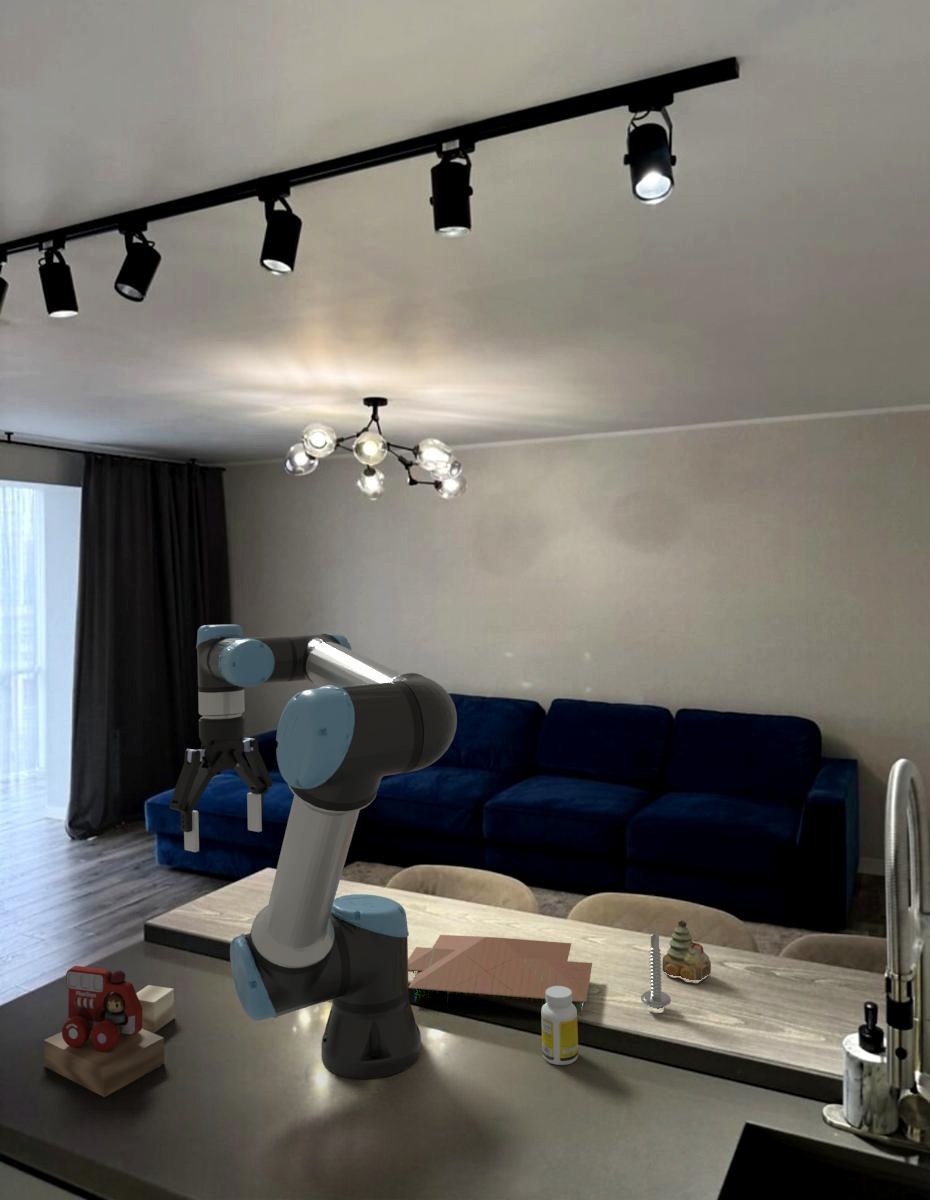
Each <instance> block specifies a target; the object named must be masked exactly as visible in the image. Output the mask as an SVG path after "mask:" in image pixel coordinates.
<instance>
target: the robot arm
mask: <svg viewBox="0 0 930 1200" xmlns="http://www.w3.org/2000/svg"><path fill="white" fill-rule="evenodd" d="M243 631H244V630H243V628H242V626H241V625H239V624H207V625H206V624H204V625H201V626H200V627H199V628H198V629H197V635H196V636H197V637H196V639H197V640H196V646H195V648H196V655H197V657H196V658H197V686H198V689H197V690H198V696H197V697H198V714H199V715H200V716H202V717H200V718H199V720H198V734H199V735H198V737H199V739H200V741H201V747H200V749H191V748H187V749H186V750H185V751H184V763H183V766H182V768H181V772H180V774H179V777H178V779H177V782H176V785H175V786H174V787H175V788H174V790H173V794H172V796H171V799H170V802H169V804H168V807H169V809H170V810H173V811H174V810H175V811H179V812H180V813H179V814H180V830H181V831H182V833H183V836H184V837H183V841H184V842H183V843H184V844H183V845H184V846H183V847H184V850H185V851H188V852H192V853H197V852H200V836H199V833H200V832H199V831H200V830H199V829H200V828H199V827H200V826H199V811H198V810H195V808H196V807H197V805H198V803H199V801H200V800H201V798H202V796H203V794H204V792H205V791H206V789H207V787H208V786H209V784H210V782H211V780H212V779H213V777H216V775H217V773H221V772H223V773H224V772H225V771H227V770H234V771H235V773H237V775H238V777H240V779H241V780H242V781H243V783H244V784H245V785H246V786H247V787H248V789H249V790H250V791H251V792H247V793H246V799H247V804H246V805H247V831H250V832H251V831H252V832H255V833H256V832H257V833H260V832H262V831H263V830H262V829H263V826H262V825H263V824H262V822H263V821H262V811H263V810H264V806H265V805H264V794H265V795H266V794H268V792H269V788H272V787H273V780H272V778H271V776H270V774H269V770H268V768H267V767H266V764H265V762H264V760H263V757H262V755H261V752H260V750H259V741H258V739H257V738H254V737H253V738H252V737H251V738H250V737H245V735H246V719H245V718H246V717H245V716H244V715H243V713H244V712H245V711H246V710H245V709H246V708H245V688H246V687H247V688H250V687H251V688H252V687H257V686H260V685H262V684H272V683H273V684H275V683H286V682H298V681H299V682H301V681H309V682H311V683H313V684H315V685H317V686H318V688H317V687H316V688H311V689H306V690H303V691H300V692H298V693H296V694H295V695H294V696H292V697H291V699H289V700H288V702H287V703H286V705H285V706H284V709H283V710H282V713H281V716H280V719H279V721H278V725H277V729H276V730H277V731H276V736H275V737H276V738H275V741H276V742H277V747H276V748H275V749H276V753H275V754H276V761H277V766H278V769H279V773H280V774H281V777H282V778H283V780H284V782H285V783H287V785H288V788H289V789H290V791H291V793H292V794H293V799H292V804H291V807H290V811H289V815H288V819H287V823H286V824H287V825H286V828H285V833H284V838H283V841H282V845H281V850H280V854H279V858H278V862H277V866H276V870H275V875H274V879H273V883H272V887H271V888H272V889H271V892H270V895H269V900H268V904H267V905H266V906H264V907H263V908H262V909H261V910H259V912H258V913H257V914H256V915H255V917H254V919H253V922H252V924H251V929H250V931H249V933H240V935H238V936H235V937H234V938H232V940H231V943H230V947H229V958H230V960H229V961H230V966H231V967H230V969H231V973H232V974H231V975H232V979H233V983H234V988H235V990H236V994H237V997H238V1000H239V1003H240V1005H241V1008H242V1010H243V1012H244V1013H245V1014H246V1016H247V1017H248V1018H250V1019H251V1020H252V1021H256V1022H259V1021H263V1020H267V1019H271V1018H274V1019H277V1018H278V1017H280V1016H283V1015H287V1014H289V1013H293V1012H296V1011H300V1010H302V1009H306V1008H309V1007H311V1006H315V1005H318V1004H321V1003H325V1002H328V1001H331V1009H330V1011H329V1014H328V1018H327V1021H326V1024H325V1028H324V1033H323V1035H322V1037H321V1038H322V1039H321V1044H320V1045H321V1060H322V1063H323V1065H324V1066H325V1068H327V1069H328V1070H329V1071H330V1072H332V1073H334V1074H336V1075H339V1076H341V1077H345V1078H350V1079H358V1080H367V1079H368V1080H369V1079H379V1078H384V1077H385V1078H386V1077H388V1076H392V1075H394V1074H395V1075H396V1074H398V1073H400V1072H403V1071H404V1070H406V1069H407V1068H409V1067H411V1066H412V1065H413V1064H414V1063H416V1061H417V1060H418V1059H419V1057H420V1055H421V1052H422V1036H421V1035H422V1034H421V1031H420V1027H419V1025H418V1024H417V1023H416V1022H417V1021H416V1019H415V1016H414V1011H413V1008H412V1005H411V1002H410V997H409V988H408V987H409V971H408V959H409V953H408V952H409V949H408V947H409V946H408V943H409V942H408V939H409V934H410V933H409V930H408V927H409V926H408V920H407V913H406V910H405V908H404V907H403V905H401V904H400V903H399V902H398V901H396V900H394V899H392V898H389V897H385V896H381V895H375V894H367V893H365V894H364V893H363V894H359V893H358V894H357V893H356V894H355V893H354V894H346V895H341V896H338V897H336V895H337V891H338V887H339V884H340V880H341V876H342V873H343V870H344V866H345V864H346V860H347V856H348V853H349V850H350V849H349V848H350V845H351V842H352V839H353V835H354V831H355V828H356V825H357V821H358V818H359V813H360V812H361V811H360V810H362V809H365V808H366V807H368V806H369V805H371V803H372V802H373V801H374V800H375V799H376V796H377V793H378V790H379V787H380V784H381V780H382V778H383V777H385V776H392V775H398V774H406V773H411V772H415V771H419V770H422V769H425V768H427V767H429V766H431V765H432V764H434V763H435V762H437V761H438V760H439V759H440V758H442V756H443V755H444V754H445V753H446V752H447V751H448V749H449V748H450V746H451V744H452V742H453V741H454V738H455V734H456V731H457V724H458V719H457V718H458V717H457V709H456V705H455V703H454V701H453V699H452V697H451V695H450V694H449V693H448V691H447V690H446V689H445V688H444V687H443V686H442V685H440V684H439V683H438V682H436V681H435V680H432V679H431V678H429V677H426V676H424V675H422V674H419V673H416V672H405V673H401V672H399V671H396V670H394V669H392V668H389V667H388V666H385V665H384V664H381V663H379V662H377V661H374V660H373V659H370V658H369V657H367V656H365V655H363V654H360V653H358V652H356V651H354V650H352V646H351V644H350V642H348V638H347V637H345V635H343V634H338V633H337V634H335V633H334V634H331V633H325V632H324V633H320V634H307V635H306V634H305V635H289V636H287V635H285V636H265V637H263V636H261V637H256V636H255V637H244V632H243ZM243 752H244V755H245V757H246V759H245V758H244V756H243V755H242V754H243ZM246 760H247V761H246ZM248 764H249V766H248Z"/></svg>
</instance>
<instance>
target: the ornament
mask: <svg viewBox="0 0 930 1200" xmlns="http://www.w3.org/2000/svg"><path fill="white" fill-rule="evenodd" d="M673 931H674V932H673V933H672V934H671V938H672V939H670V940H669V946H670V947H669V948H668V950H667V952H666V953H667V954H665V955H664V956H663V957H662V971H663V973H664V972H666V973H667V974H669V975H673V976H681V977H682V978H686V979H689V980H701V979H702V978H704V977H705V976H707V975H709V974H710V975H711V972H712V961H711V960H710V957H709V955H708V954H707V953H706V952H705V951H704V946H703V945H702V944H700V943H697V942H694V941H692V939H693V938H692V935H691V934H690V929H689V928H688V927H687V922H686V921H685V920H683V919H681V920H680V921H678V923H677V926H676V927H675V928H674V930H673ZM710 975H709V976H710Z"/></svg>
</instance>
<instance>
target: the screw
mask: <svg viewBox="0 0 930 1200" xmlns="http://www.w3.org/2000/svg"><path fill="white" fill-rule="evenodd" d="M649 949H650V950H649V953H650V954H648V955H649V960H650V961H649V963H650V965H649V967H650V968H649V971H650V972H649V974H650V975H649V981H650V982H649V985H650V987H649V988H650V990H648V991H647V990H646V991H645V992H643V993H642V994H641V996H640V999H641V1002H642V1003H643V1004H645V1005H646V1006H648V1005H649V1006H650V1007H653V1008H657V1009H659V1008H663V1007H664V1008H665V1007H667V1006H669V1005H670V1004H671V1003H672V998H671V996H670V995H668V993H666V992H664V991H662V978H661V977H662V974H661V973H662V971H661V970H662V967H661V966H662V961H661V959H662V956H661V955H662V953H661V949H660V936H659V934H658V933H657V932H653V933H651V934H650V947H649Z"/></svg>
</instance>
